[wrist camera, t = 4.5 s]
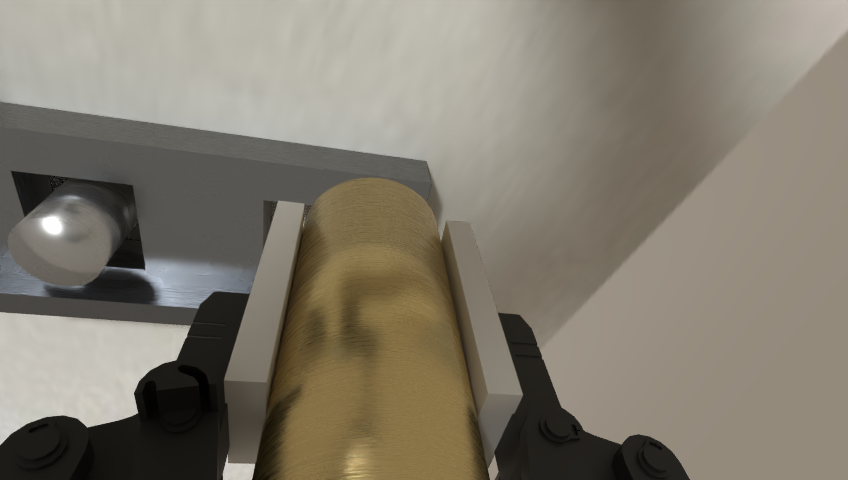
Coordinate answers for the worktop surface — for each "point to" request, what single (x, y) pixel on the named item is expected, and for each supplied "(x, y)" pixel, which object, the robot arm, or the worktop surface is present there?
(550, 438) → the robot arm
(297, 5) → the worktop surface
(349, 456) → the gold metal cylinder
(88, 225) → the silver metal cylinder
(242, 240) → the jig
